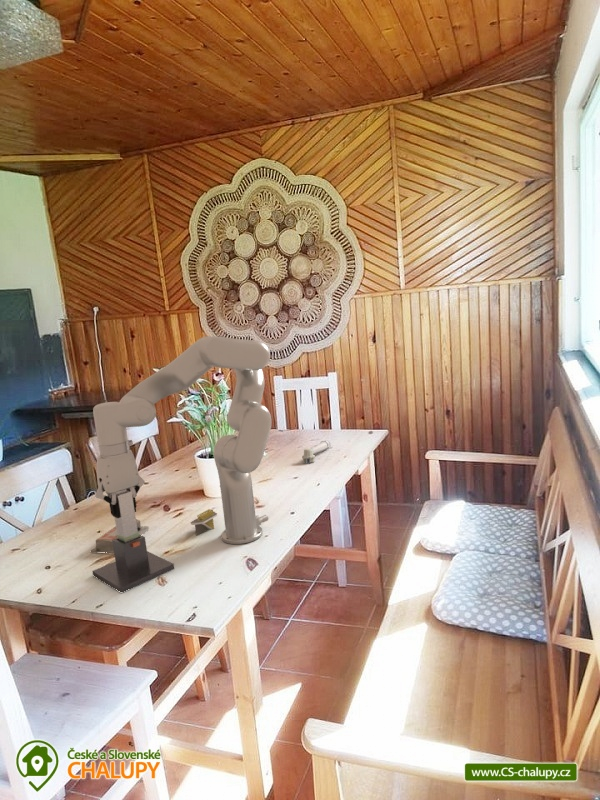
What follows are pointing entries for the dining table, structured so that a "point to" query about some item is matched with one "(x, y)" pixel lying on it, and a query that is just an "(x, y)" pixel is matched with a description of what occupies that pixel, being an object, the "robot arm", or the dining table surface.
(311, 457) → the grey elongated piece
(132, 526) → the column
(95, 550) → the packaged product
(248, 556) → the dining table surface
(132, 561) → the stand housing
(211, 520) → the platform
